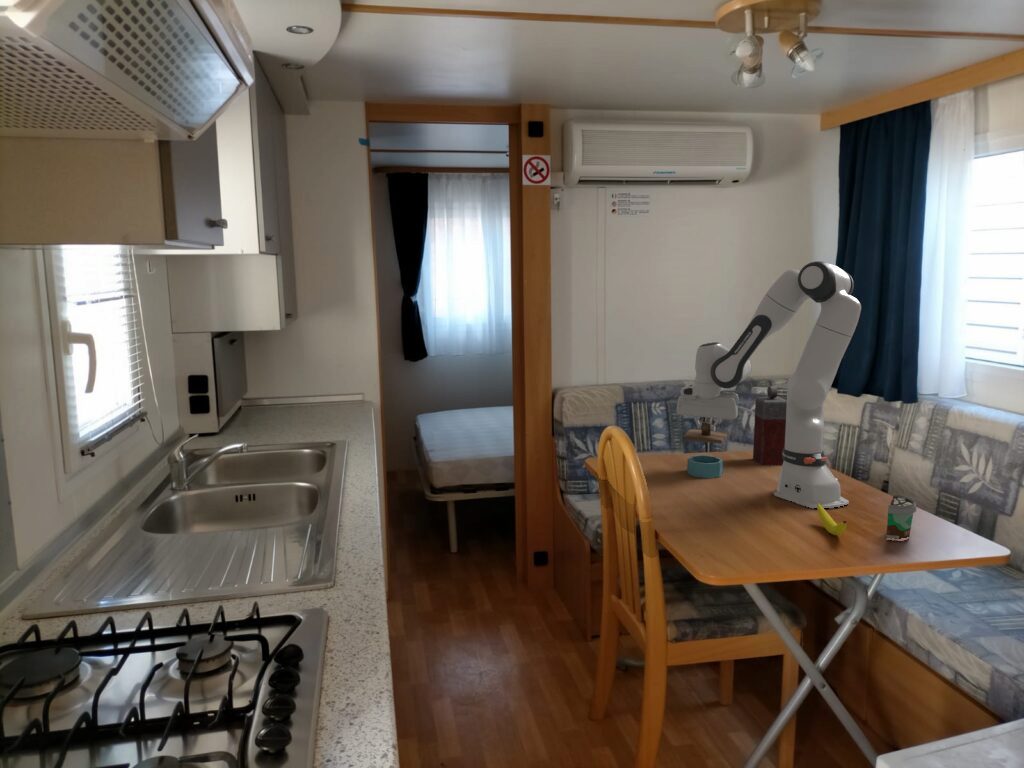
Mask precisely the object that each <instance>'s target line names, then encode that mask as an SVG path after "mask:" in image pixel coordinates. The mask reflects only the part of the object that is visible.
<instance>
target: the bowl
mask: <svg viewBox="0 0 1024 768" xmlns="http://www.w3.org/2000/svg"><path fill="white" fill-rule="evenodd" d="M686 470H687V471H686V474H688V475H690V476H692V477H695V478H701V477H702V479H714V477H717V478H720V477H721V476H722V475H723V472H724V459H722V458H720V457H718V456H713V455H704V454H703V455H702V454H699V455H691V456H690V457H688V458H687V467H686Z"/></svg>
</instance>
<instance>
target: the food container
mask: <svg viewBox="0 0 1024 768" xmlns="http://www.w3.org/2000/svg"><path fill="white" fill-rule="evenodd" d="M916 512H917V504H916V501H915V500H914V499H913V498H912V497H908V496H906V495H902V494H899V493H892V500H891V502H890V504H888V509H887V521H886V522H887V524H886V536H885V538H891V539H892V538H894V539H901V538H907V537H909V538H910V534H911V529H912V522H913V517H914V513H916Z"/></svg>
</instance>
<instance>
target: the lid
mask: <svg viewBox="0 0 1024 768" xmlns="http://www.w3.org/2000/svg"><path fill="white" fill-rule="evenodd" d="M701 424H702V430H698V429H697V428H696V429H695V428H694V429H693V428H691V429H689V430H688V432H687V431H686V433H685V434H684V435H683V436H682V441H683V440H684V441H691V442H702V443H713V444H723V443H724V441H725V440H726V439H727V438H728V437H729V435H730V434H729V432H727V431H716V430H715V431H710V425H712V423H711V422H705V421H704V422H703V421H702V422H701Z"/></svg>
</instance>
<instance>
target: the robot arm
mask: <svg viewBox="0 0 1024 768" xmlns="http://www.w3.org/2000/svg"><path fill="white" fill-rule="evenodd" d="M854 283H855V282H854V280H853V277H852V275H850V273H849V272H848V271H846V270H845V269H842V268H840V267H839V266H837V265H836V264H833V263H829V262H825V261H821V260H820V261H817V260H816V261H812V262H809V263H807V264H805V265H804V266H803V267H802V268H801V269H799V270H798V269H793V268H791V269H788V270H785V271H784V272H783V273H782V274H781V275H780V276H779V277H778V278H777V279H776V280H775V282H774V283H773V284H772V285H771V286H770V287H769V289H768V290H767V292H766V293H765V294H764V296H763V297H762V299H761V300H760V302H759V304H758V305H757V308H756V310H755V312H754V314H753V316H752V318H751V319H750V321H749V322H748V325H747V326H746V328H745V329H744V331H743V332H742V334H741V335H740V336H739V338H738V339H737V340H736V342H735V343H734V344H733V346H731V348H730V349H729V348H727V347H726V346H724V345H723V344H722V343H721V342H715V341H714V342H707V343H703V344H701V345H699V346H698V347H697V349H696V355H695V365H694V369H695V370H694V371H695V378H694V383H693V384H690V385H689V384H688V385H686V386H682V388H681V389H680V396H679V397H678V399H677V404H676V414H677V415H678V416H686V417H693V420H694V422H695V425H696V430H702V423H700V420H699V419H700V418H708V419H710V418H711V419H713V424H711V425H710V431H716V425H718V423H719V421H720V419H721V420H730V421H734V420H735V419H737V418H738V415H739V410H738V409H739V407H738V404H739V402H740V396H739V395H738V394H737V393H735V391H726V390H725V391H724V390H722V389H731V388H734V387H735V386H737V385H738V384H739V383H742V382H744V380H746V379H747V378H748V377H749V376H751V373H752V369H753V366H752V362H751V360H750V358H751V356H752V355H753V354H754V353H755V352H756V350H757V349H758V347H759V346H760V345H761V344H762V343H763V341H764V340H766V339H768V337H769V336H771V335H773V334H775V333H777V332H779V331H780V330H781V329H783V328H784V327H785V326H786V325H787V324H788V323H789V322H790V321H791V320H792V319H793V318H794V316H796V313H797V312H798V310H799V309H800V308H801V307H802V305H803V304H804V303H805V301H807V300H808V299H811V300H813V302H815V303H817V304H820V312H819V315H818V318H817V319H816V322H815V323H814V326H813V328H812V331H810V334H809V337H808V338H807V340H806V343H805V346H804V348H803V351H802V354H801V356H800V359H799V362H797V363H798V364H797V366H796V369H795V371H794V372H793V373H792V374H791V375H790V376H789V378H788V381H787V388H786V389H787V390H786V401H787V409H786V431H785V447H784V448H783V453H782V455H783V460H784V462H783V465H781V468H780V469H779V474H778V480H777V481H778V482H777V487H776V490H775V491H774V493H773V495H774V496H775V497H778V498H780V499H783V500H787V501H789V502H791V501H792V503H794V502H795V503H794V504H796V505H800V506H803V507H805V506H806V508H808V507H809V509H814V508H817V505H818V503H819V504H820V505H821V506H822V507H823V508H829V509H835V508H834V507H838V508H841V507H840V506H843V507H845V506H844V505H847V504H848V505H850V504H849V503H850V501H849V500H848V499H846V498H844V497H843V496H841V494H842V493H841V485H840V482H839V479H838V478H837V477H835V476H834V475H833V473H832V471H831V470H830V469H829V467H828V466H827V461H828V458H829V457H828V456H826V455H825V453H824V452H825V451H824V450H823V446H824V432H825V431H824V430H825V401H826V399H827V396H828V394H829V392H830V390H831V387H832V384H833V382H834V380H835V377H836V375H837V373H838V369H839V367H840V364H841V361H842V359H843V357H844V356H845V355H844V354H845V353H846V350H847V348H848V346H849V344H850V343H851V340H852V338H853V335H854V333H855V331H856V329H857V328H856V327H857V326H858V323H859V319H860V316H861V311H862V304H861V302H860V301H859V300H858V298H856V297H854V296H853V295H852V293H853V290H854V287H855V286H854V285H855V284H854ZM848 505H847V506H848Z"/></svg>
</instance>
